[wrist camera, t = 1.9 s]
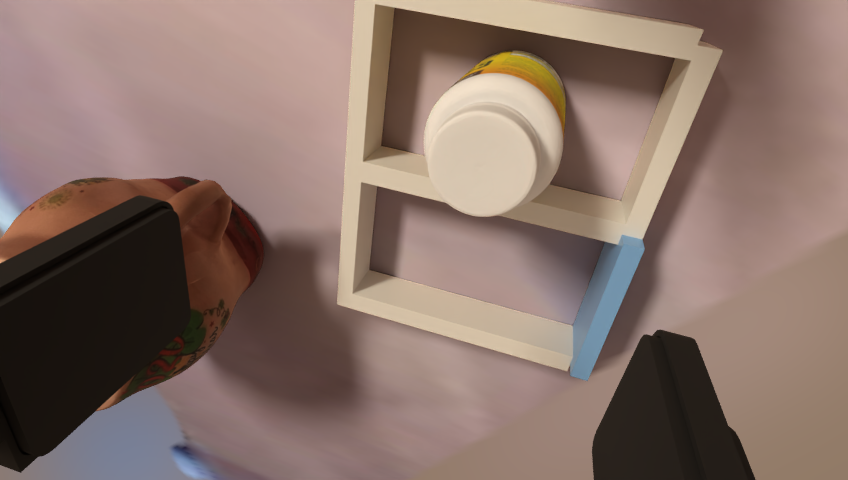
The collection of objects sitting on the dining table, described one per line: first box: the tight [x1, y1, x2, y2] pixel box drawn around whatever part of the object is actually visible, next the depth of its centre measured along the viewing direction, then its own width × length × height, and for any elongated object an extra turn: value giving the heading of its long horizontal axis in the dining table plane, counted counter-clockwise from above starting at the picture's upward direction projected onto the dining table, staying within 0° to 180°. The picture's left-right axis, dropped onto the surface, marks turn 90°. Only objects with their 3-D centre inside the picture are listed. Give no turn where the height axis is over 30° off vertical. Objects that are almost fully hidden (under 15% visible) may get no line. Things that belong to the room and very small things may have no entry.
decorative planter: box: [0, 177, 264, 411], centre depth 29 cm, size 20×12×14 cm, turn 138°
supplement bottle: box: [424, 50, 566, 217], centre depth 21 cm, size 6×6×10 cm
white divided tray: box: [337, 0, 723, 381], centre depth 26 cm, size 16×19×4 cm
